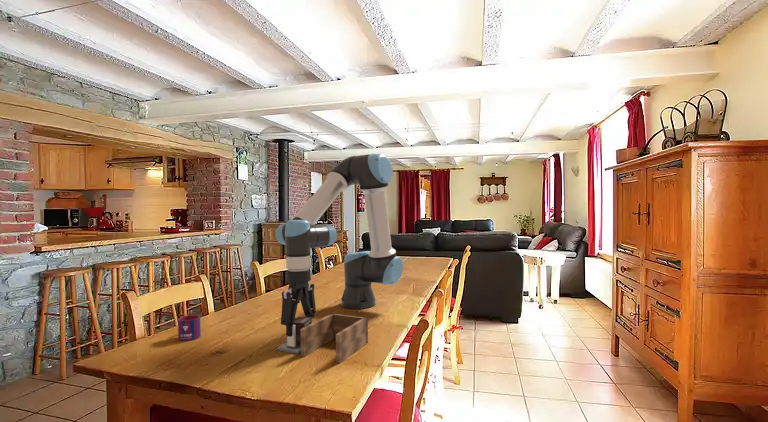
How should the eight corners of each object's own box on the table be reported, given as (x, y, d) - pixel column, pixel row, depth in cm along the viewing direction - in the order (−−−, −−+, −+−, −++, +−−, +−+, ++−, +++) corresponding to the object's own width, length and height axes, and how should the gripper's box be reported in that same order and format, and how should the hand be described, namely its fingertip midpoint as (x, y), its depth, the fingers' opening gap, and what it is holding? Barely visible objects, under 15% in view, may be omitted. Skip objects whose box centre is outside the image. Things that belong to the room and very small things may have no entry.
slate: (301, 337, 128) (301, 334, 128) (321, 340, 125) (321, 338, 125) (277, 350, 117) (277, 347, 117) (298, 353, 114) (298, 351, 114)
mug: (175, 341, 126) (174, 321, 126) (186, 331, 136) (186, 312, 136) (196, 340, 127) (196, 320, 126) (206, 330, 137) (206, 311, 136)
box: (304, 346, 117) (304, 322, 117) (286, 345, 119) (285, 321, 119) (312, 339, 123) (312, 317, 123) (295, 338, 125) (294, 316, 124)
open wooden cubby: (332, 337, 128) (332, 313, 127) (368, 342, 122) (367, 317, 122) (300, 356, 112) (300, 329, 112) (339, 363, 106) (339, 334, 106)
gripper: (307, 263, 131) (309, 330, 132) (266, 274, 113) (268, 351, 113) (326, 264, 128) (327, 332, 129) (287, 275, 110) (288, 355, 110)
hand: (299, 341), depth 121 cm, fingers open, 7 cm apart
